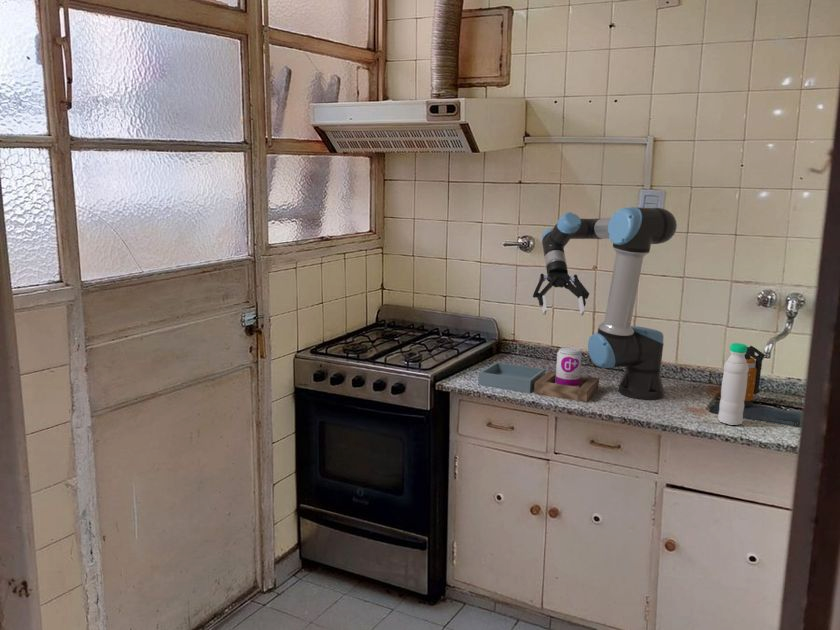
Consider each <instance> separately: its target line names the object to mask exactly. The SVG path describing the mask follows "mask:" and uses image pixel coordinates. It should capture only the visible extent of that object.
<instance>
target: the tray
mask: <svg viewBox="0 0 840 630" xmlns="http://www.w3.org/2000/svg"><path fill="white" fill-rule="evenodd" d="M546 370H547V369H546V368H541V367H534V366H528V365H527V366H526V365H521V364H513V363H507V362H499V361H496V362H494V363H491V364H490V365H488V366H487V367H485V368H484V369H482V370H480V371H479V372H478V376H477V377H478V380H477V381H478V382H477V385H478V384H481V385H480V386H482V385H484V386H483V387H489V388H495V389H500V390H501V389H502V390H506V391H507V390H508V391H512V392H513V391H515V392H518V393H519V392H520V393H528V394H530V393H532V392H534V386H535V382H536V381H537V380H539V379H540V378H541V377H543V376H544V375H545V374H546V373H547V372H546Z"/></svg>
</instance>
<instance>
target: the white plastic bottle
mask: <svg viewBox="0 0 840 630" xmlns="http://www.w3.org/2000/svg"><path fill="white" fill-rule="evenodd" d="M747 347H748V346H747V345H746V344H744V343H738V342H734V343H731V344H730V346H729V352H730V356H729V357H728V358H727V360H726V361H725V363H724V364H723V375H722V381H721V389H720V400H719V405H718V406H719V410H718V414H717V421H718V420H719V421H720V422H723V423H727V424H733V425H737V424H741V425H742V424H743V421H744V411H745V407H744V400H745V395H746V388H747V373H748V371H749V367H748V364H747V361H746V359H745V354H746V352H747ZM719 421H718V422H719ZM720 422H719V423H720Z"/></svg>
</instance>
